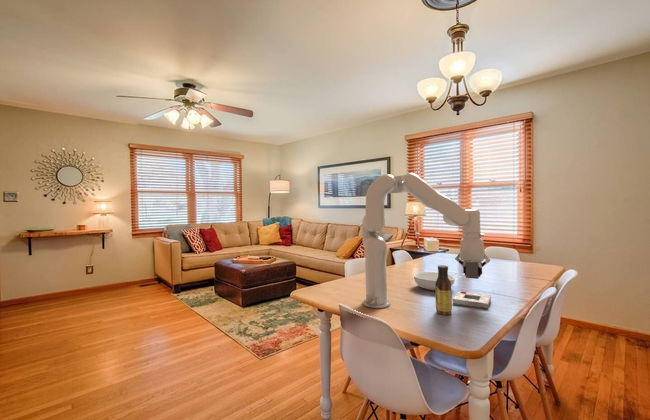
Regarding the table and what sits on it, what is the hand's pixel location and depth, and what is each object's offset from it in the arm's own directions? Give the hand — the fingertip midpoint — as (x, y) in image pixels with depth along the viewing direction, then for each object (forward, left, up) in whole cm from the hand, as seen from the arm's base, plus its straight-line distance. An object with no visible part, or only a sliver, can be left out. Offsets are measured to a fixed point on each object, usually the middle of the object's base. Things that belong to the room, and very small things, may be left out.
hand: (472, 275), depth 141 cm
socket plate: (0, 0, -13) cm, 13 cm away
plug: (0, 0, -1) cm, 1 cm away
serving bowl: (+16, +21, -13) cm, 30 cm away
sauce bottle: (-21, +8, -13) cm, 26 cm away
